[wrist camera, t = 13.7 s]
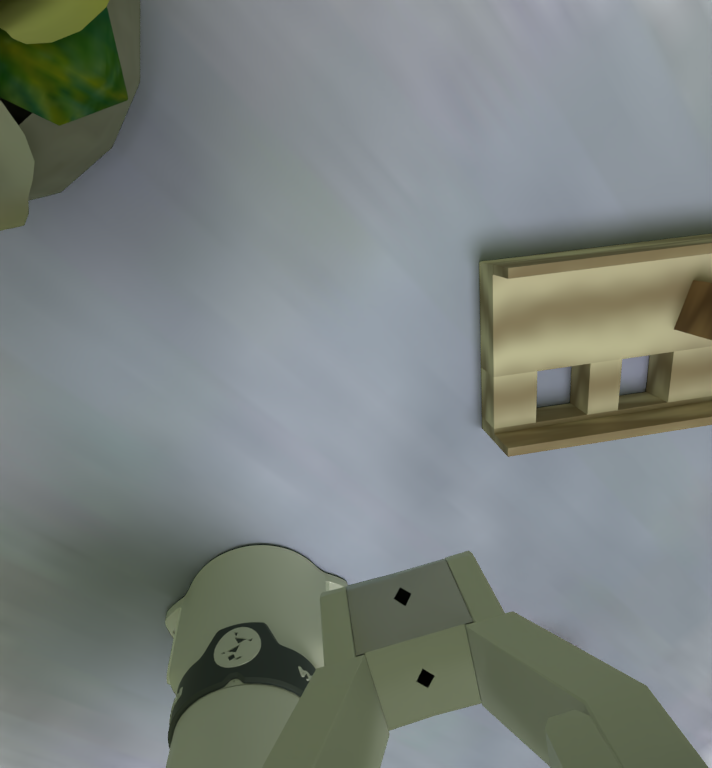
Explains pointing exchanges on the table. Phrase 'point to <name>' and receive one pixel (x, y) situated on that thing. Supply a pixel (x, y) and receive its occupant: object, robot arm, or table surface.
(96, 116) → the flower arrangement
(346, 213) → the table surface
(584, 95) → the table surface
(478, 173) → the table surface
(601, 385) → the trap track
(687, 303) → the walnut block
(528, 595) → the table surface
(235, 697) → the robot arm
